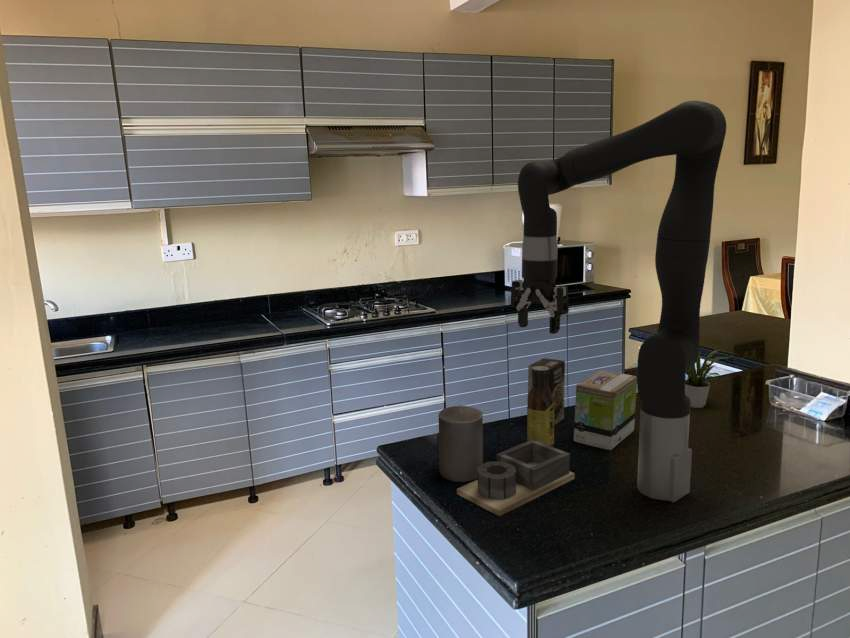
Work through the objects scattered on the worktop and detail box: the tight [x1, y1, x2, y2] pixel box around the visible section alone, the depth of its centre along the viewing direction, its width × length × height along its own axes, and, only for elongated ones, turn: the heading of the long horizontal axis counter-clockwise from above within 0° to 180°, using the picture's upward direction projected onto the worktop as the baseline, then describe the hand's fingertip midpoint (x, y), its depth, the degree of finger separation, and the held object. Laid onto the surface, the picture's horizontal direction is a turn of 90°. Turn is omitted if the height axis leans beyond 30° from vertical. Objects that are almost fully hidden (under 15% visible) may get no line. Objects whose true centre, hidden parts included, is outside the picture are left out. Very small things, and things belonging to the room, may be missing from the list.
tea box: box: [573, 369, 638, 451], centre depth 157 cm, size 15×10×15 cm, turn 143°
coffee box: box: [527, 357, 566, 426], centre depth 167 cm, size 9×6×16 cm
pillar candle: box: [438, 405, 484, 483], centre depth 140 cm, size 10×10×15 cm
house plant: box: [685, 349, 729, 409], centre depth 176 cm, size 14×14×16 cm
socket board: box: [456, 439, 576, 517], centre depth 134 cm, size 12×23×6 cm, turn 130°
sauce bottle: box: [526, 366, 555, 447], centre depth 150 cm, size 7×6×20 cm
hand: (538, 329), depth 142 cm, fingers open, 8 cm apart
